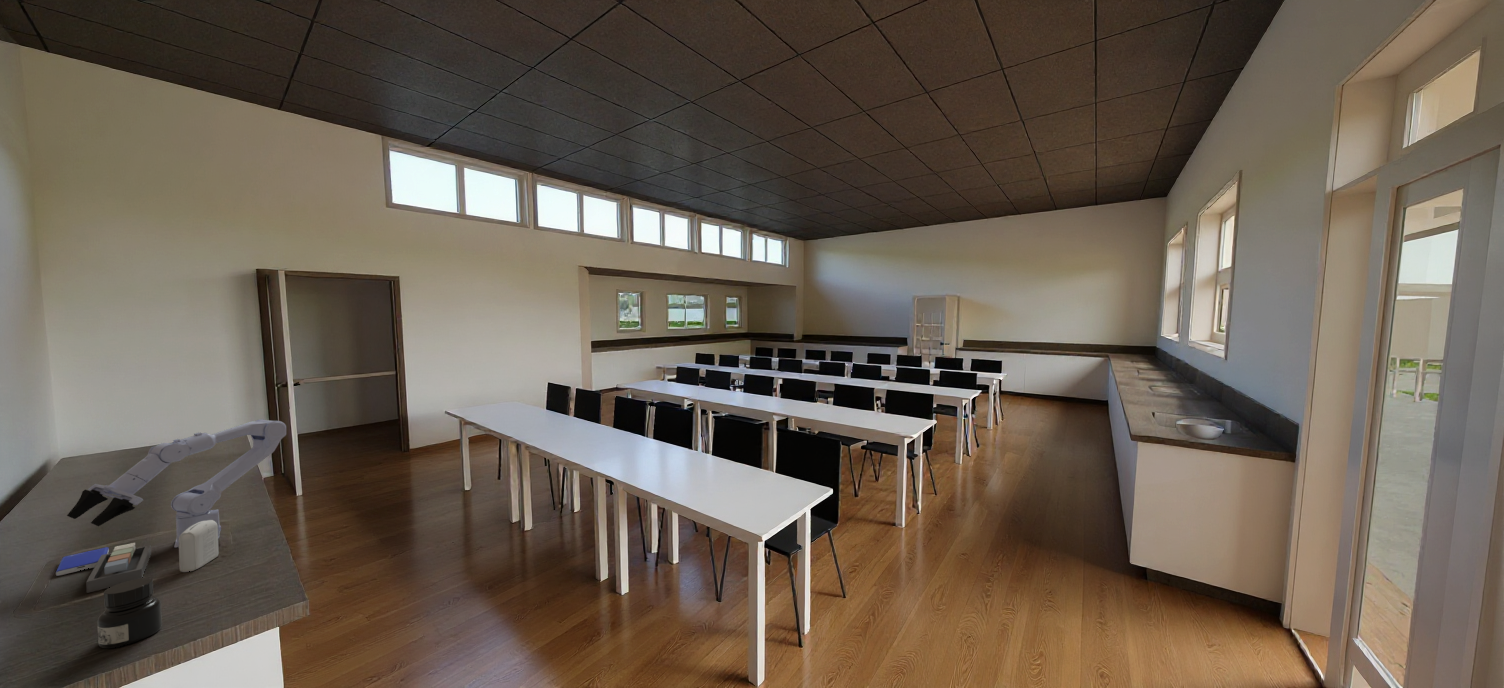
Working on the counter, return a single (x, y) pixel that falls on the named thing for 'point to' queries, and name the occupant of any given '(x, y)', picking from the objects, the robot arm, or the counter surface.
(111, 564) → the slate key
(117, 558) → the terracotta key
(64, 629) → the counter surface
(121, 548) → the cream key
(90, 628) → the counter surface
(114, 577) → the dark grey tray
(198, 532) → the photo printer
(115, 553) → the sage key
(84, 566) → the hard drive
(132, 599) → the ink bottle
